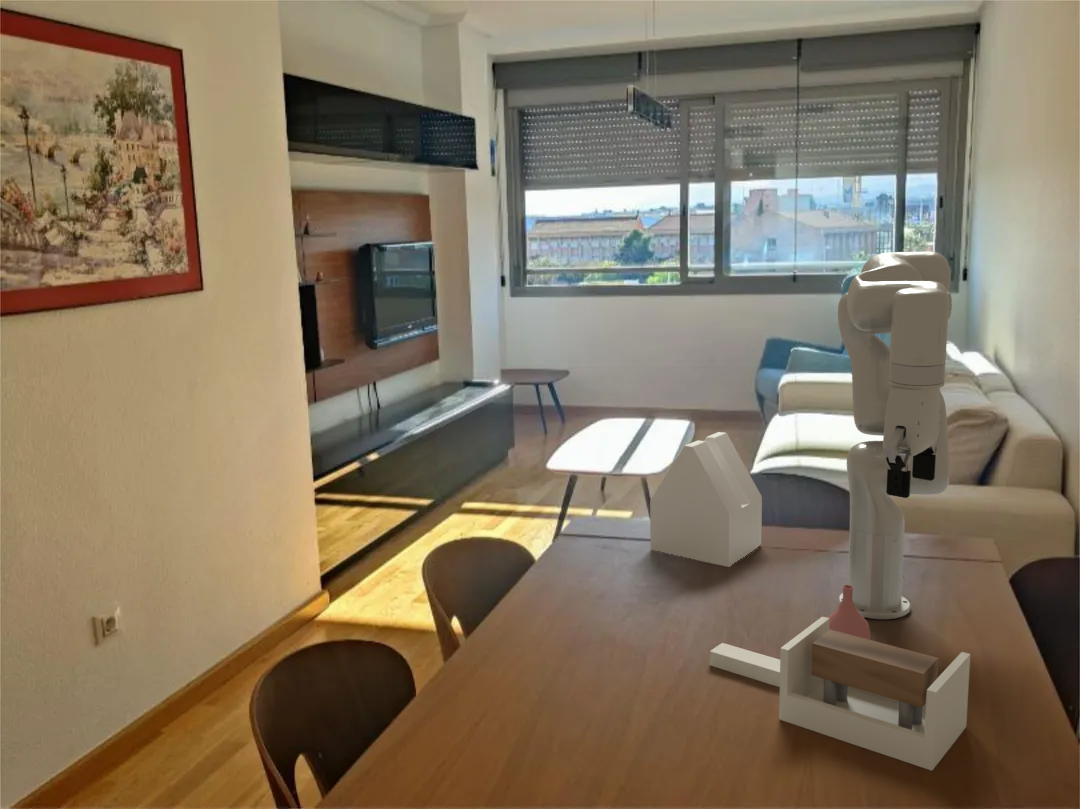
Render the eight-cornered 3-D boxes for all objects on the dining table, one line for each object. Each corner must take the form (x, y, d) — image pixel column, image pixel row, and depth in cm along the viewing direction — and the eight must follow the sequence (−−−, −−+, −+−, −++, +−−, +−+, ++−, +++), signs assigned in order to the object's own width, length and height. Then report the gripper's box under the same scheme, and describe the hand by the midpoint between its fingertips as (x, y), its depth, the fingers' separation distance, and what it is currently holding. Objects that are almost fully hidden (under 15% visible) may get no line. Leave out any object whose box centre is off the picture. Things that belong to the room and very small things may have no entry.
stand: (820, 683, 153) (822, 616, 151) (966, 727, 139) (970, 654, 136) (779, 719, 142) (780, 648, 140) (932, 770, 128) (936, 692, 126)
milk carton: (650, 550, 216) (649, 440, 211) (685, 531, 227) (684, 427, 223) (729, 567, 204) (729, 451, 199) (761, 546, 216) (762, 437, 211)
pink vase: (870, 647, 165) (872, 580, 162) (870, 667, 158) (872, 597, 155) (822, 642, 167) (824, 576, 165) (820, 661, 160) (822, 592, 158)
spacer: (722, 656, 163) (722, 642, 162) (799, 680, 154) (800, 665, 153) (709, 665, 160) (709, 651, 159) (788, 689, 151) (788, 675, 150)
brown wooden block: (828, 660, 147) (829, 629, 146) (936, 691, 137) (938, 657, 136) (811, 675, 142) (812, 643, 141) (921, 707, 132) (923, 673, 131)
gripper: (913, 361, 149) (908, 468, 153) (866, 382, 136) (861, 498, 140) (964, 366, 144) (957, 476, 148) (920, 388, 131) (913, 508, 135)
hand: (910, 487), depth 144 cm, fingers open, 9 cm apart
